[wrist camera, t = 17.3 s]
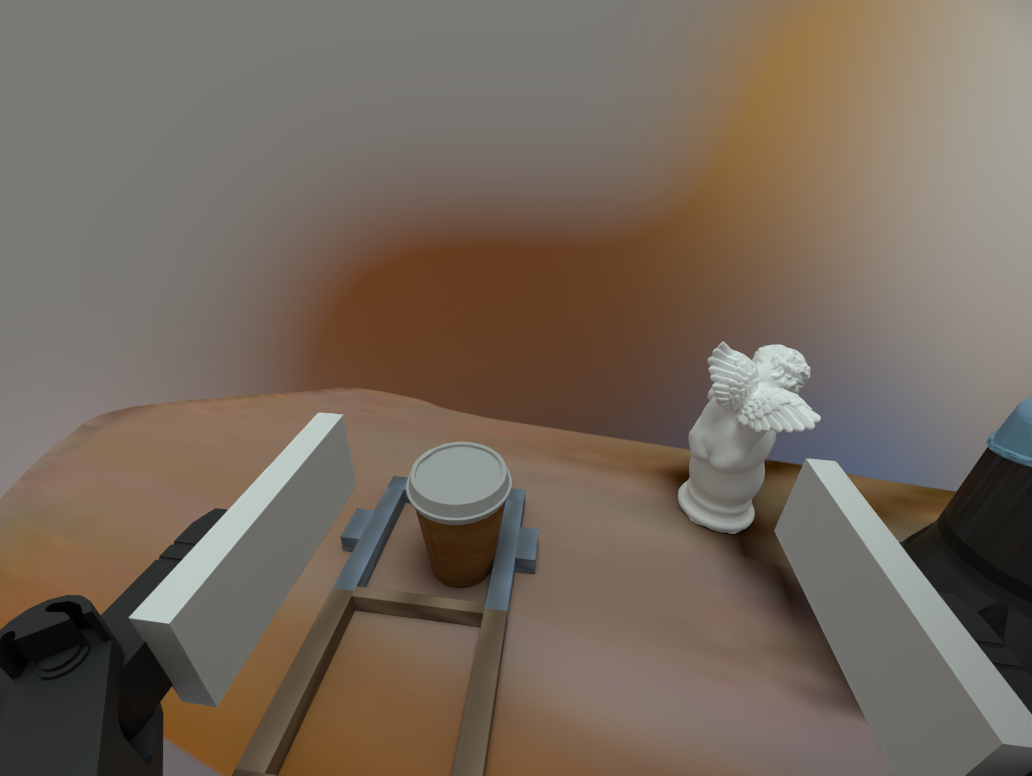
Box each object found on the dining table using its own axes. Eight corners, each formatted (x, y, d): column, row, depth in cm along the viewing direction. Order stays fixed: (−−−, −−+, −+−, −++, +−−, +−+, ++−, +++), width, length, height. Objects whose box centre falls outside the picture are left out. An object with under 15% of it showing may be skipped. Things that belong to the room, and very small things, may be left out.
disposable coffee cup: (486, 515, 52) (486, 430, 46) (525, 580, 45) (530, 488, 39) (404, 543, 48) (393, 453, 42) (432, 619, 41) (422, 523, 35)
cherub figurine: (732, 478, 59) (790, 320, 49) (802, 554, 49) (896, 374, 38) (647, 488, 57) (688, 323, 46) (701, 570, 46) (770, 382, 36)
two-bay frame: (541, 504, 54) (542, 491, 53) (503, 872, 27) (504, 861, 26) (379, 486, 56) (377, 474, 55) (194, 815, 29) (184, 802, 28)
